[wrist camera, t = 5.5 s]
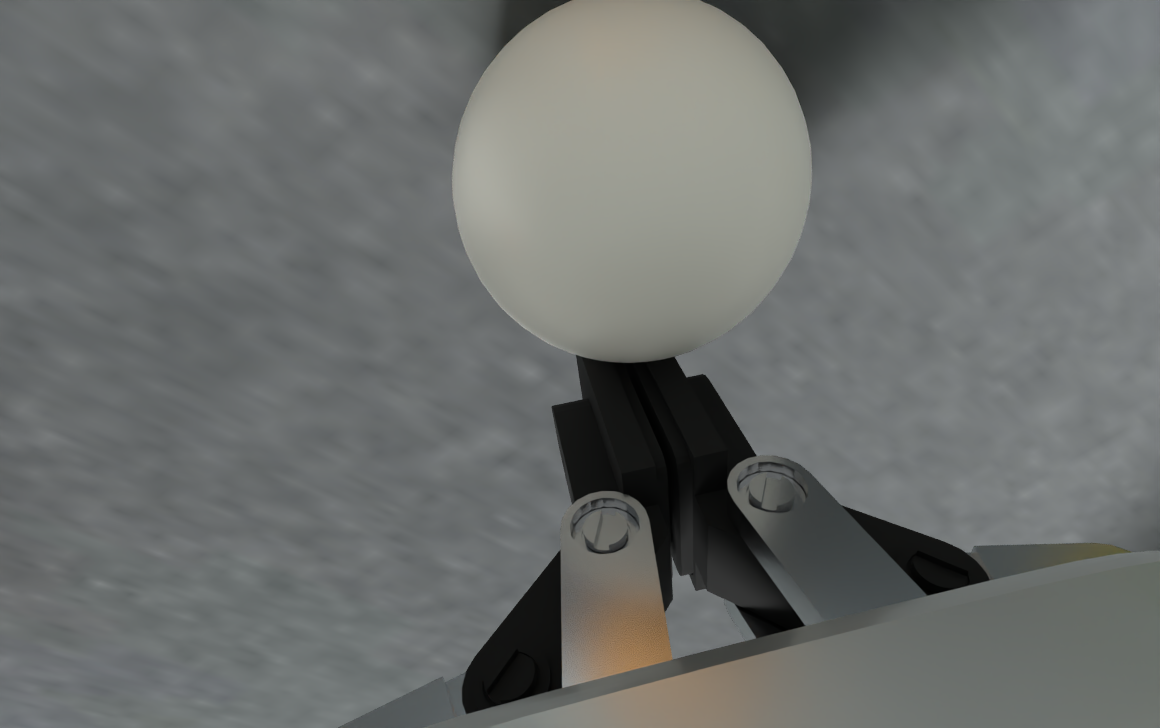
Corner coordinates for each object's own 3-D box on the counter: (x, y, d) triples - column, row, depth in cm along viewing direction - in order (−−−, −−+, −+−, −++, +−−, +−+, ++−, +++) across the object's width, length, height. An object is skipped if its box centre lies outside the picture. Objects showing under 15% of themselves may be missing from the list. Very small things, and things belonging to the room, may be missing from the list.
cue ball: (763, 467, 9) (836, 60, 5) (437, 399, 10) (313, 58, 7) (798, 263, 12) (854, -58, 9) (553, 237, 14) (514, -40, 10)
